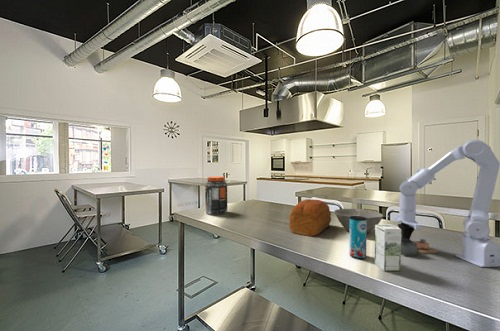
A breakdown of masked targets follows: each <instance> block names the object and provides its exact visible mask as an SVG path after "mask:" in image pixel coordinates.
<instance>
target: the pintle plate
mask: <svg viewBox="0 0 500 331" xmlns="http://www.w3.org/2000/svg"><path fill="white" fill-rule="evenodd" d="M417 253H419V254H421V255H426V254H439V250H436V249H434V248H432V247H430V246H429V249H420V248H417Z"/></svg>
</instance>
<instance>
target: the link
mask: <svg viewBox="0 0 500 331" xmlns="http://www.w3.org/2000/svg"><path fill="white" fill-rule="evenodd" d="M413 241H414V242H416V243H417V248H420V249H429V247H430V243H429V242H427V240H426V239H424V238H421V239H419V240H413Z"/></svg>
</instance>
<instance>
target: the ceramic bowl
mask: <svg viewBox="0 0 500 331" xmlns="http://www.w3.org/2000/svg"><path fill="white" fill-rule="evenodd" d="M333 213H334V214H335V216H336V219H337V220H338V222H339V223H340V225H341V226H342V227H343V228H344V229H345V230H346V231H348V232H350V216H361V217H365V218H366V222H367V233H370V232H372V231H373V230H375V225H378V224H381V223H380V222H381V221H382V219H383V218H384V214H382V213H380V212H379V211H378V212H377V211H374V210H370V209H365V208H364V209H363V208H338V209H334V211H333Z"/></svg>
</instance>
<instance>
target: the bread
mask: <svg viewBox="0 0 500 331" xmlns="http://www.w3.org/2000/svg"><path fill="white" fill-rule="evenodd" d="M331 215H332V212H331V211H330V206H329V205H328V203H327V202H325V201H322V200H320V199H310V198H309V199H304V200H301V201H299V202H298V203H297V204H296V205H294V206H293V208H291V211H290V214H289V228H290V231H291V233H293V234H298V235H304V236H307V237H315V236H318V235H319V234H321V233H322V231H323V230H325V229H326V228H328V227H329V226H330V223H331V222H332V217H331Z"/></svg>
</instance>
